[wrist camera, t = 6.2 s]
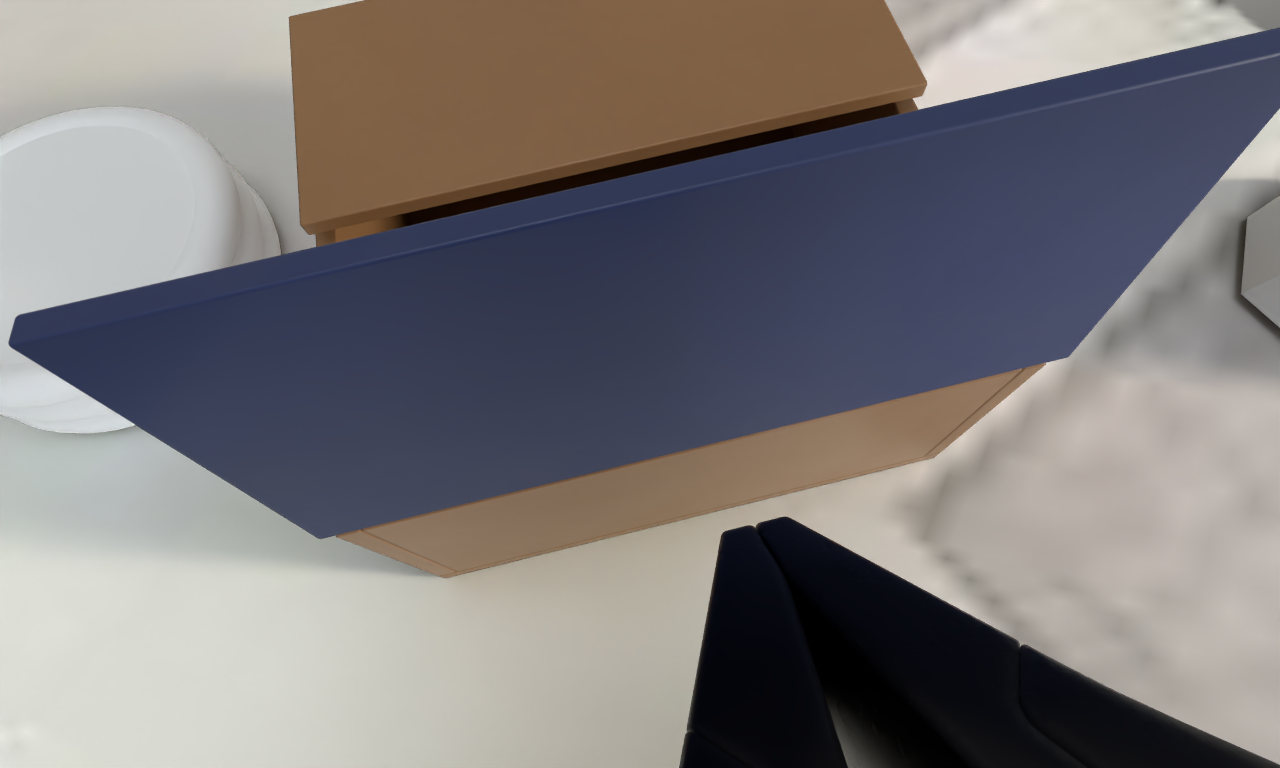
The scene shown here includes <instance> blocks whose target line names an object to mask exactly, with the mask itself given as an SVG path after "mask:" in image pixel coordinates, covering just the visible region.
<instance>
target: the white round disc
mask: <svg viewBox="0 0 1280 768" xmlns="http://www.w3.org/2000/svg"><path fill="white" fill-rule="evenodd" d="M279 255H281V249H280V243H279V237H278V234H277V231H276V228H275V225H274V223H273V220H272V217H271V215H270V213H269V211H268V209H267V207H266V206H265V204H264V202H263V200H262V199H261V198H260V197H259V196H258V194H257V193H256V192H255V191H254V190H253V189H252V188H251V187H250V186H249V185H248V184H246V183H245V181H244V179H243V178H242V177H241V176H240V174H239V173H238V172H237V171H236V170H235V168H234V167H233V166H232V165H230V164H229V163H228V162H227V161H225V160H224V158H223V156H222V155H221V153H220V152H219V151H218V150H217V149H216V147H215V146H214V145H213V144H212V143H211V142H210V141H209V140H208V139H207V138H205V137H204V136H203V135H202V134H200V133H199V132H198V131H196V130H194V129H193V128H191V127H189V126H188V125H186V124H184V123H183V122H181V121H179V120H177V119H176V118H173V117H171V116H168V115H165V114H163V113H160V112H157V111H152V110H148V109H143V108H136V107H125V106H107V107H94V108H85V109H77V110H72V111H67V112H62V113H58V114H54V115H51V116H48V117H45V118H41V119H38V120H36V121H33V122H31V123H28V124H26V125H23V126H20V127H18V128H16V129H14V130H12V131H10V132H8V133H6V134H4V135H2V136H0V415H3V416H7V417H11V418H14V419H16V420H18V421H20V422H22V423H23V424H26V425H29V426H32V427H35V428H38V429H42V430H48V431H54V432H61V433H99V432H108V431H114V430H119V429H123V428H128V427H132V426H135V424H133V423H132V422H130V421H128V420H127V419H125V418H124V417H122V416H120V415H119V414H117V413H115V412H114V411H112V410H111V409H109V408H107V407H106V406H104V405H103V404H101V403H99V402H98V401H96V400H95V399H93V398H91V397H90V396H88V395H86V394H85V393H83V392H82V391H80V390H78V389H77V388H75V387H74V386H72V385H70V384H69V383H67V382H66V381H64V380H62V379H61V378H59V377H58V376H56V375H54V374H53V373H51V372H49V371H48V370H46V369H45V368H43V367H41V366H40V365H38V364H37V363H35V362H33V361H32V360H30V359H29V358H27V357H25V356H24V355H22V354H20V353H19V352H17V351H16V350H14V349H12V348H11V347H10V346H9V344H8V341H9V338H10V334H11V331H12V327H13V324H14V320H15V318H16V317H17V316H18V315H19V314H24V313H28V312H33V311H37V310H41V309H46V308H50V307H55V306H59V305H63V304H68V303H72V302H77V301H81V300H85V299H90V298H94V297H99V296H103V295H107V294H112V293H116V292H120V291H125V290H129V289H134V288H138V287H142V286H147V285H151V284H156V283H160V282H164V281H169V280H173V279H178V278H182V277H186V276H191V275H195V274H200V273H204V272H208V271H213V270H217V269H222V268H226V267H230V266H235V265H239V264H243V263H248V262H252V261H257V260H261V259H265V258H270V257H274V256H279Z"/></svg>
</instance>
